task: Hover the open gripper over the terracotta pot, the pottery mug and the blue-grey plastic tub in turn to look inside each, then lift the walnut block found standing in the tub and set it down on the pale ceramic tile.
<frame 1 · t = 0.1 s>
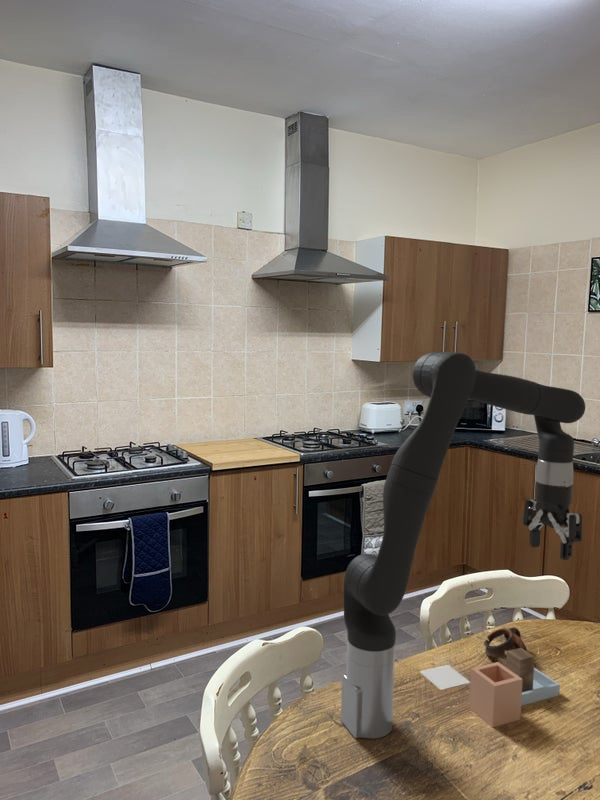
hand: (549, 552, 135), 29 cm above the table, fingers open, 8 cm apart
blue-grey tub: (518, 691, 132), on the table
walnut block: (518, 689, 132), point 1 cm above the table, touching blue-grey tub
terracotta pot: (494, 716, 123), on the table
pottery mug: (508, 659, 146), on the table
ceramic tile: (444, 679, 137), on the table
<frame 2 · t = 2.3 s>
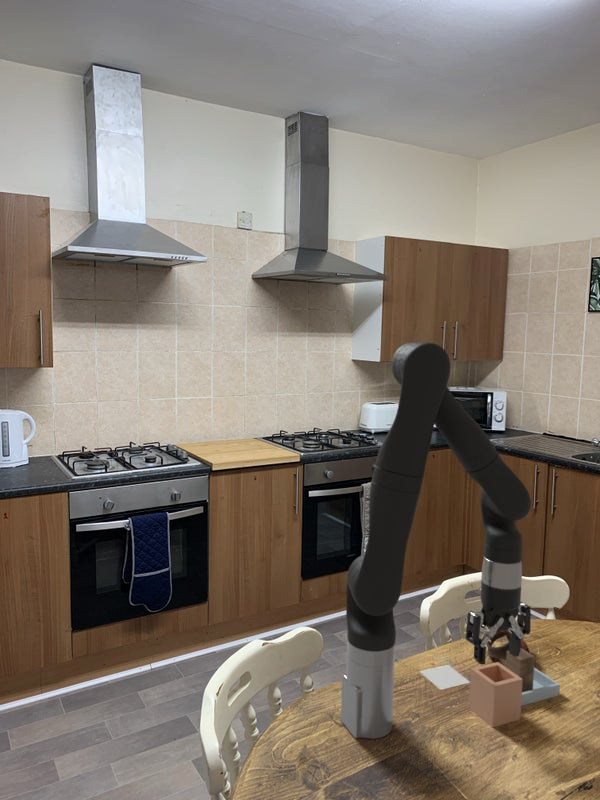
hand: (497, 658, 122), 12 cm above the table, fingers open, 8 cm apart
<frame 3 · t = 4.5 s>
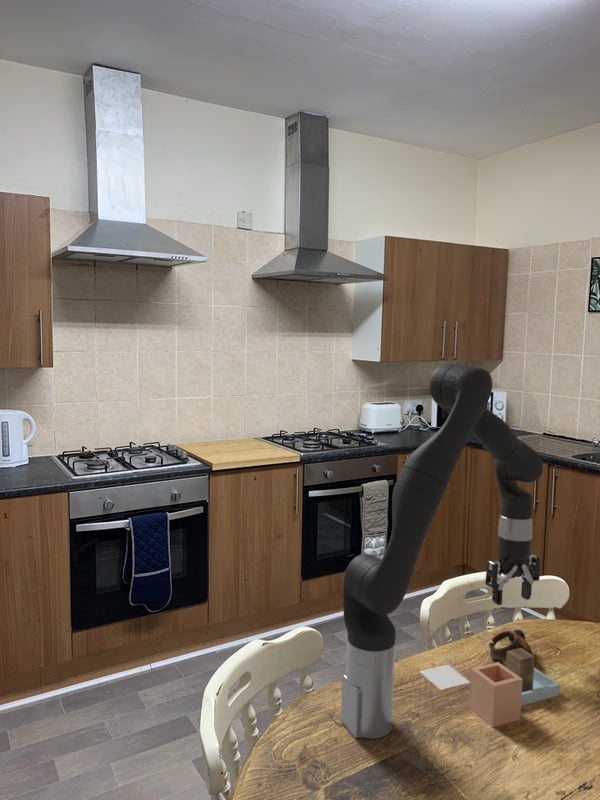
hand: (511, 601, 145), 14 cm above the table, fingers open, 8 cm apart
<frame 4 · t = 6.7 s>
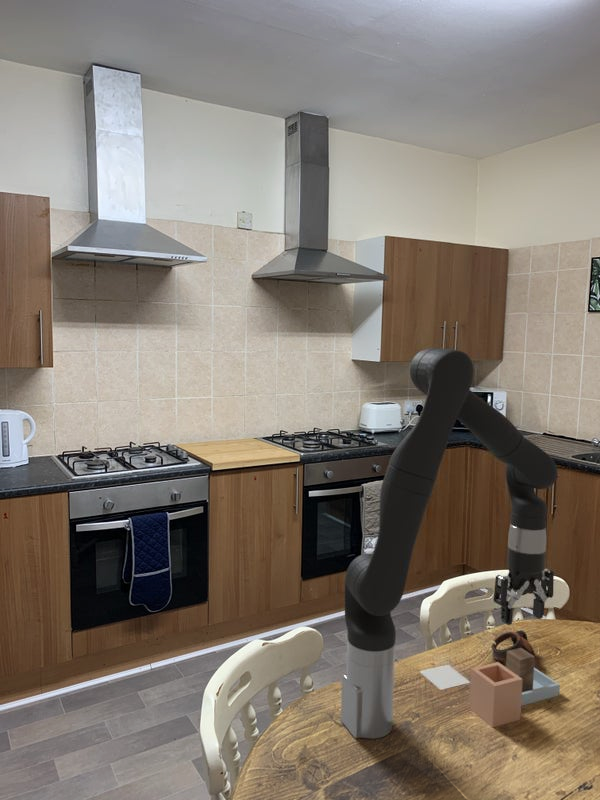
hand: (522, 620, 131), 16 cm above the table, fingers open, 8 cm apart
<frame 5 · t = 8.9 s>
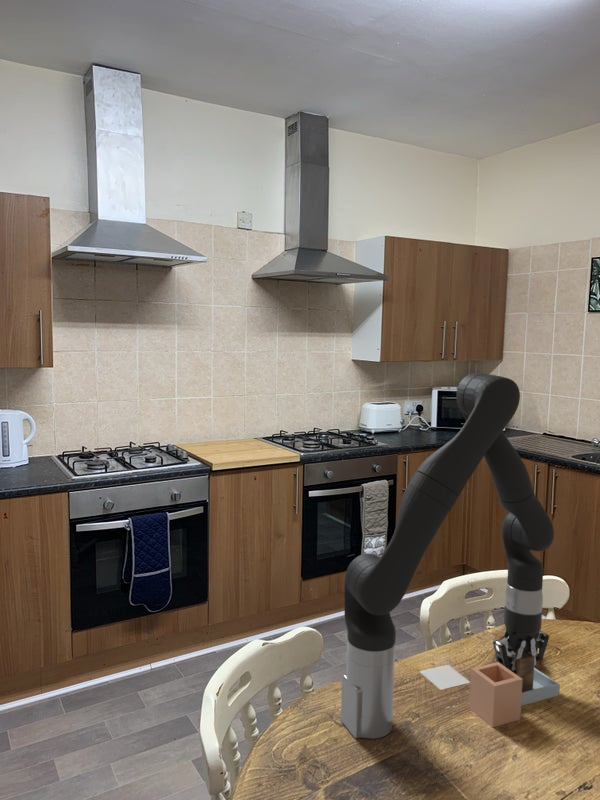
hand: (519, 681, 132), 2 cm above the table, fingers closed on walnut block, 4 cm apart
walnut block: (518, 689, 132), point 1 cm above the table, touching blue-grey tub, gripper
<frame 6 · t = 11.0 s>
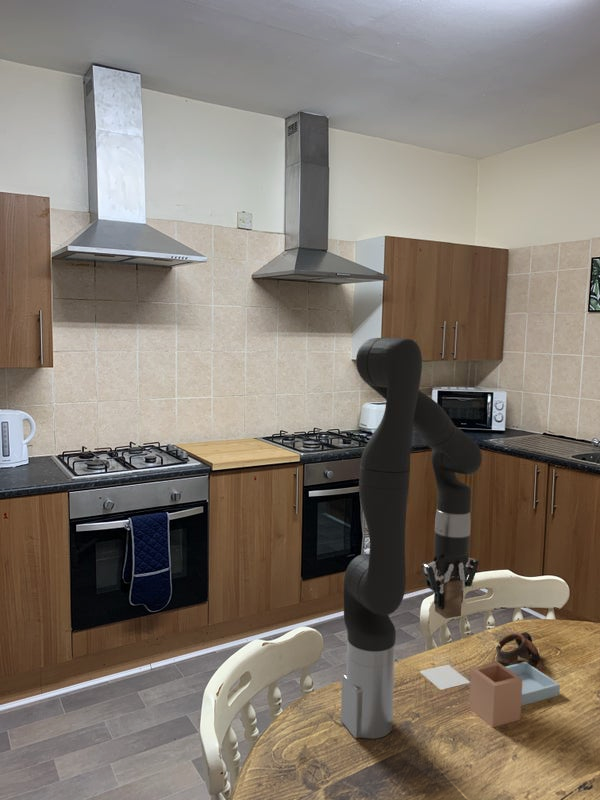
hand: (448, 606, 135), 17 cm above the table, fingers closed on walnut block, 4 cm apart
walnut block: (447, 613, 135), point 15 cm above the table, touching gripper
pottery mug: (520, 665, 144), on the table, touching blue-grey tub
everything else where it was.
when the fingers open (4 cm above the table, at t = 13.5 s): walnut block drops 1 cm, resting on ceramic tile.
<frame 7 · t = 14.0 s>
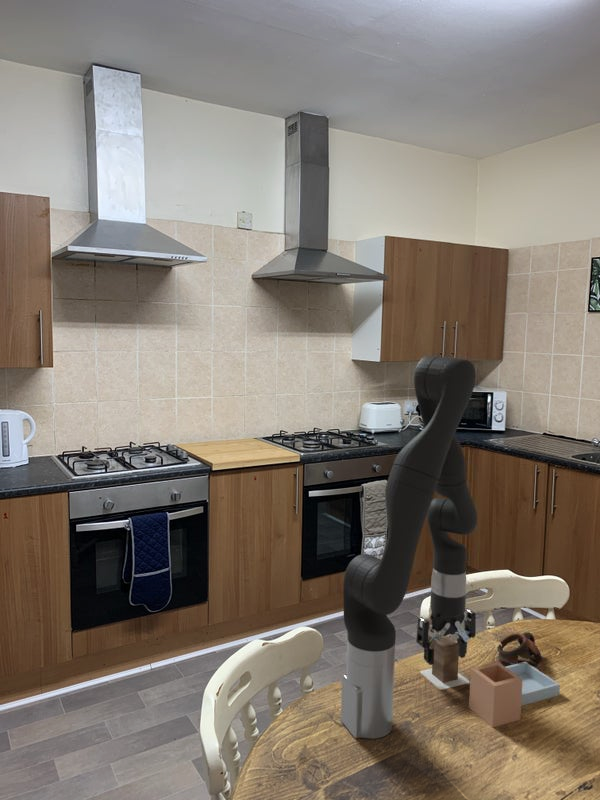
hand: (445, 659, 136), 5 cm above the table, fingers open, 8 cm apart
walnut block: (444, 676, 137), point 1 cm above the table, touching ceramic tile
pottery mug: (522, 665, 144), on the table
everything else where it was.
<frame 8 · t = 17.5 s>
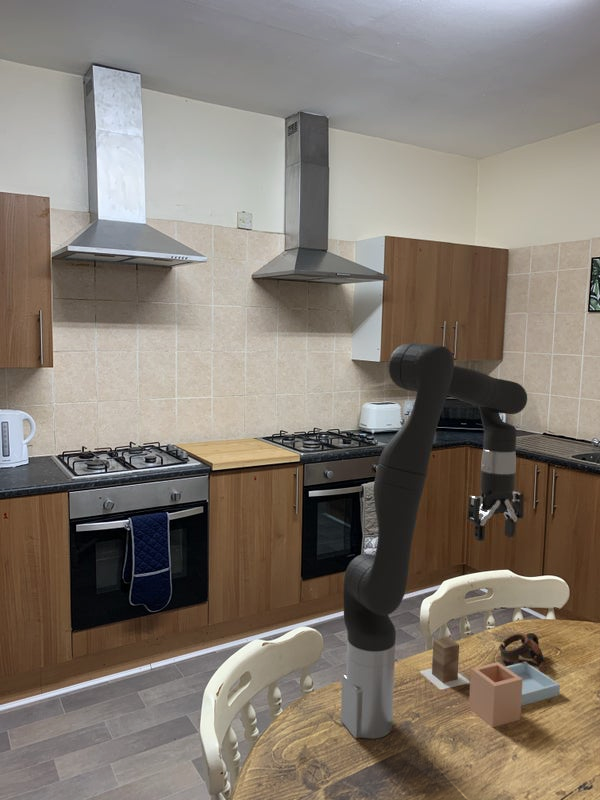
hand: (494, 538, 141), 30 cm above the table, fingers open, 8 cm apart
at the end: walnut block inside the target area on the ceramic tile (0.1 cm from its centre), point 0.6 cm above the ceramic tile's base; walnut block tilted 0°; the gripper is holding nothing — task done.
